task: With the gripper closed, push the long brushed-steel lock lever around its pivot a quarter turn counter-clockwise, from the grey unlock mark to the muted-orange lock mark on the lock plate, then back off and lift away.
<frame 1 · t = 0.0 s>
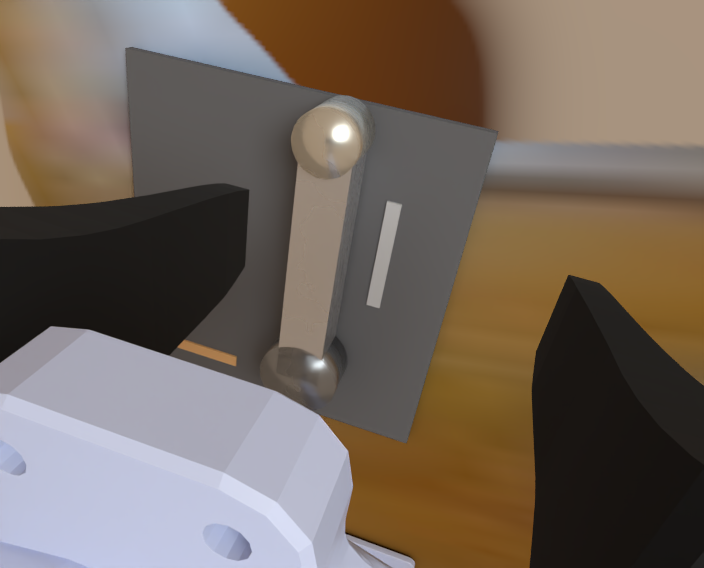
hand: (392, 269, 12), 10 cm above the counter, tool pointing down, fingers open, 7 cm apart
lock plate: (285, 265, 25), on the counter
lock lever: (315, 273, 23), point 2 cm above the counter, hinge at 0.0°
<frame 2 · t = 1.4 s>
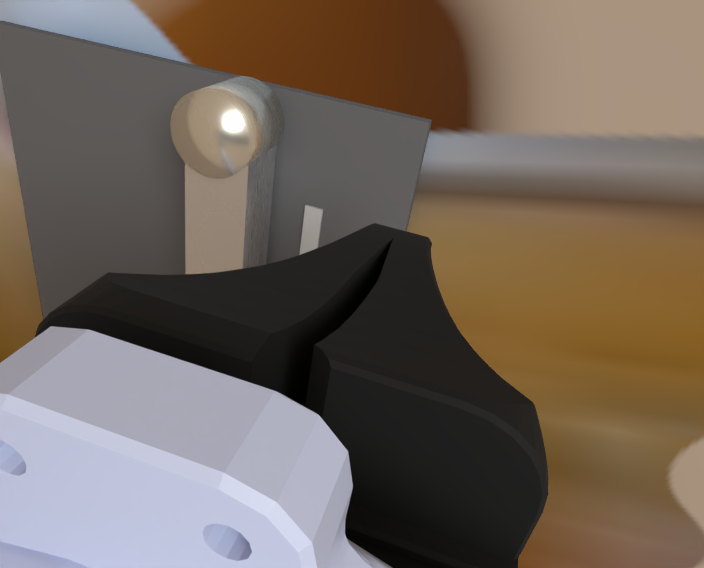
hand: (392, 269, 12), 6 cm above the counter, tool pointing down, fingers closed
lock plate: (199, 280, 22), on the counter
lock lever: (223, 292, 19), point 2 cm above the counter, hinge at 0.0°
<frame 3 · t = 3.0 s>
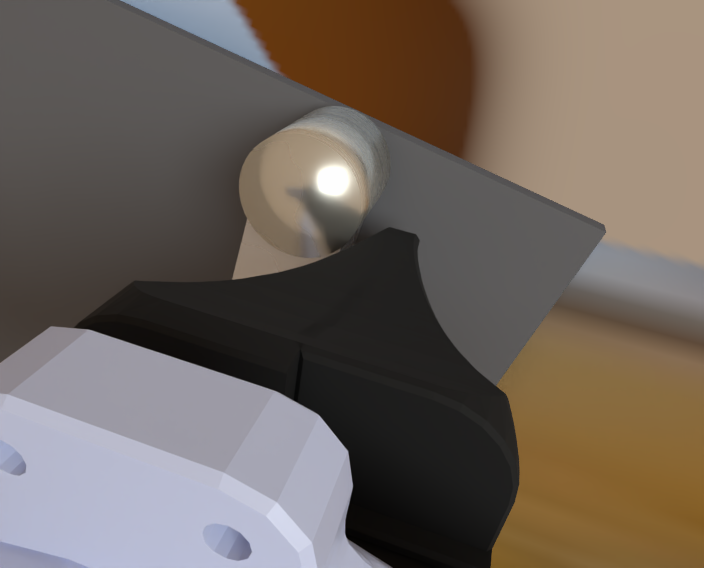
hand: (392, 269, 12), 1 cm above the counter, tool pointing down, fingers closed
lock plate: (219, 337, 17), on the counter
lock lever: (257, 376, 14), point 2 cm above the counter, hinge at 1.6°, touching gripper
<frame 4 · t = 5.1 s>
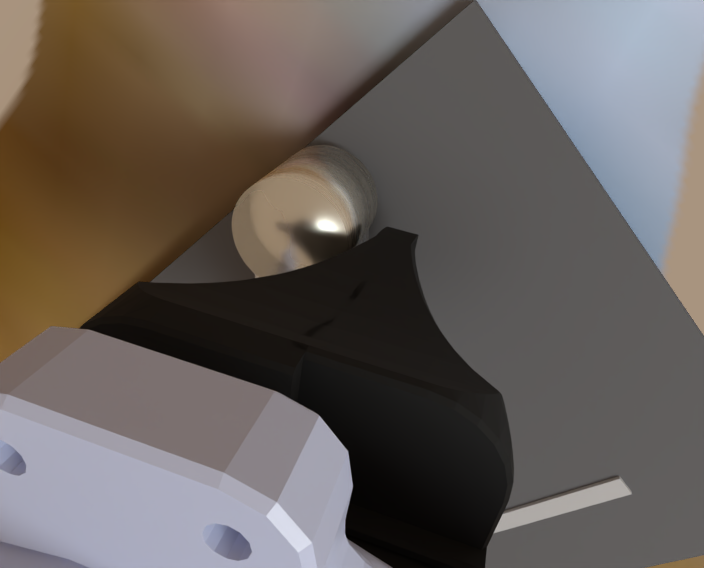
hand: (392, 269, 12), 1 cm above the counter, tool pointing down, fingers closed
lock plate: (395, 416, 16), on the counter
lock lever: (318, 421, 14), point 2 cm above the counter, hinge at 49.3°, touching gripper
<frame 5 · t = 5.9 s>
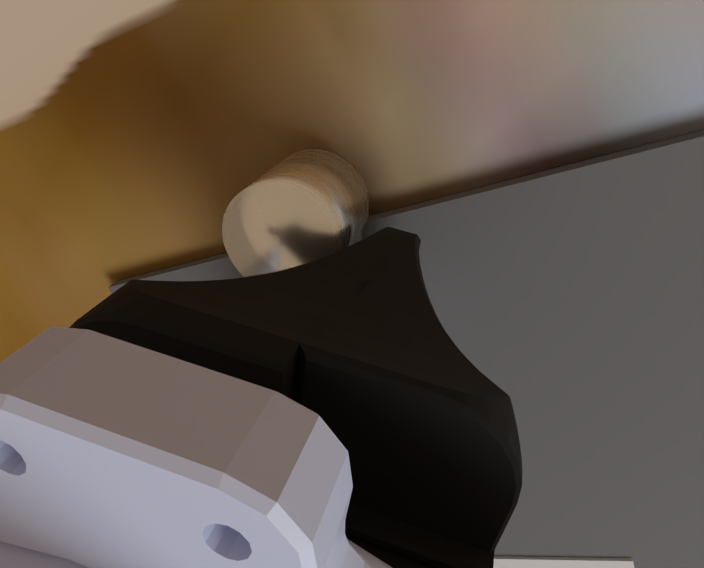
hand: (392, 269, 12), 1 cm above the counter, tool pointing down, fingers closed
lock plate: (440, 449, 16), on the counter
lock lever: (316, 424, 14), point 2 cm above the counter, hinge at 70.6°, touching gripper
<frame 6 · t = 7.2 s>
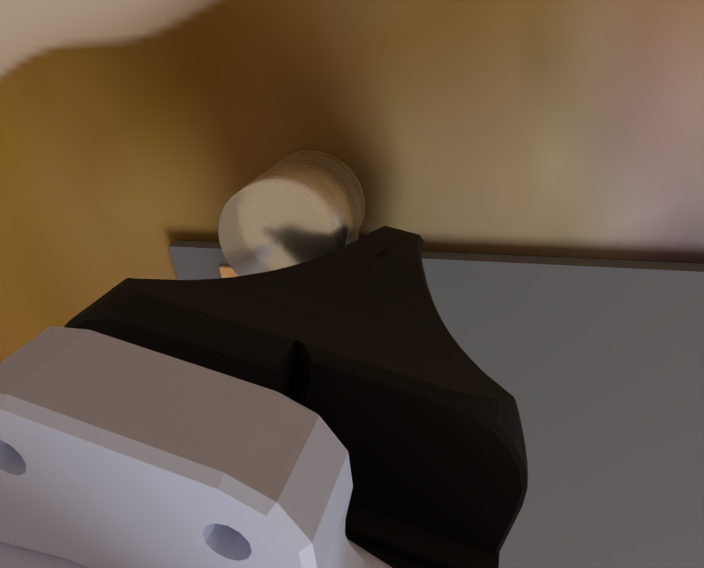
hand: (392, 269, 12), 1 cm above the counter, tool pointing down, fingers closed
lock plate: (465, 479, 17), on the counter
lock lever: (315, 425, 15), point 2 cm above the counter, hinge at 87.1°, touching gripper
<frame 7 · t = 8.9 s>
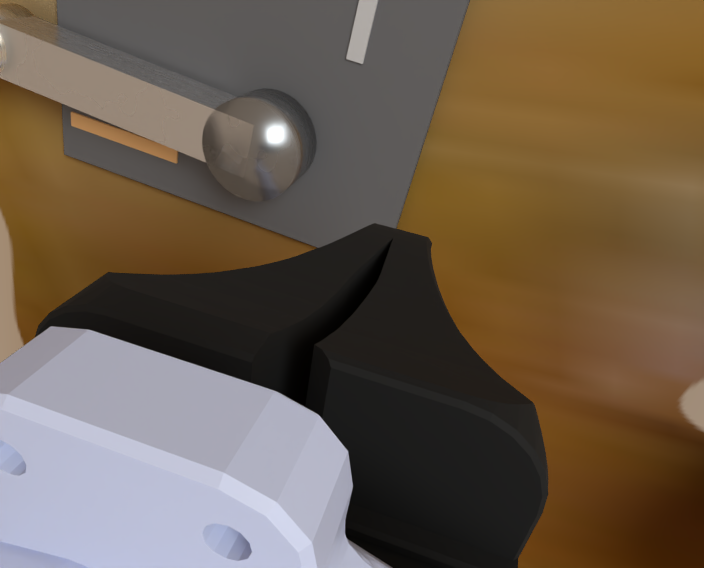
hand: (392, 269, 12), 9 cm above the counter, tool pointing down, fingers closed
lock plate: (245, 7, 20), on the counter
lock lever: (131, 95, 20), point 2 cm above the counter, hinge at 87.2°
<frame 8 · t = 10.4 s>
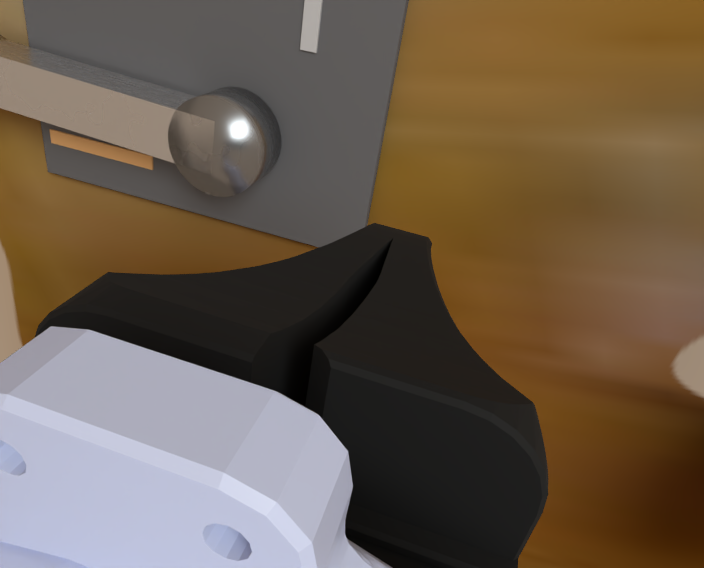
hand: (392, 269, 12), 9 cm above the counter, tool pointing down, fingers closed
lock plate: (201, 10, 20), on the counter
lock lever: (100, 105, 21), point 2 cm above the counter, hinge at 87.2°
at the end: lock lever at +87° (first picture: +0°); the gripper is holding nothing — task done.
